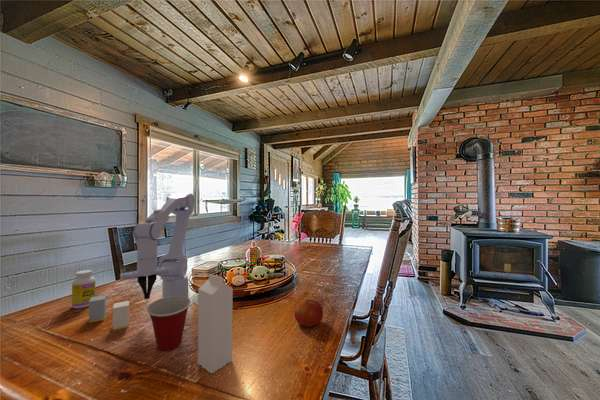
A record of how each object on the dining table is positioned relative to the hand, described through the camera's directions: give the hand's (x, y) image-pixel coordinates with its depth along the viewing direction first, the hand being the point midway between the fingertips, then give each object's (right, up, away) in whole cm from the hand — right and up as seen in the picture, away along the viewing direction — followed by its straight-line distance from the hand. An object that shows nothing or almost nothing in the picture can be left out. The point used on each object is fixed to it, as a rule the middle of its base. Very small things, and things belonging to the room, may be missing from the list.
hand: (146, 297), depth 81 cm
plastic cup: (+15, -8, -14) cm, 22 cm away
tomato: (+55, -8, -1) cm, 55 cm away
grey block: (-17, -7, +1) cm, 19 cm away
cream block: (-6, -8, -4) cm, 10 cm away
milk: (+30, -8, -21) cm, 38 cm away
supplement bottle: (-31, -7, +11) cm, 34 cm away
